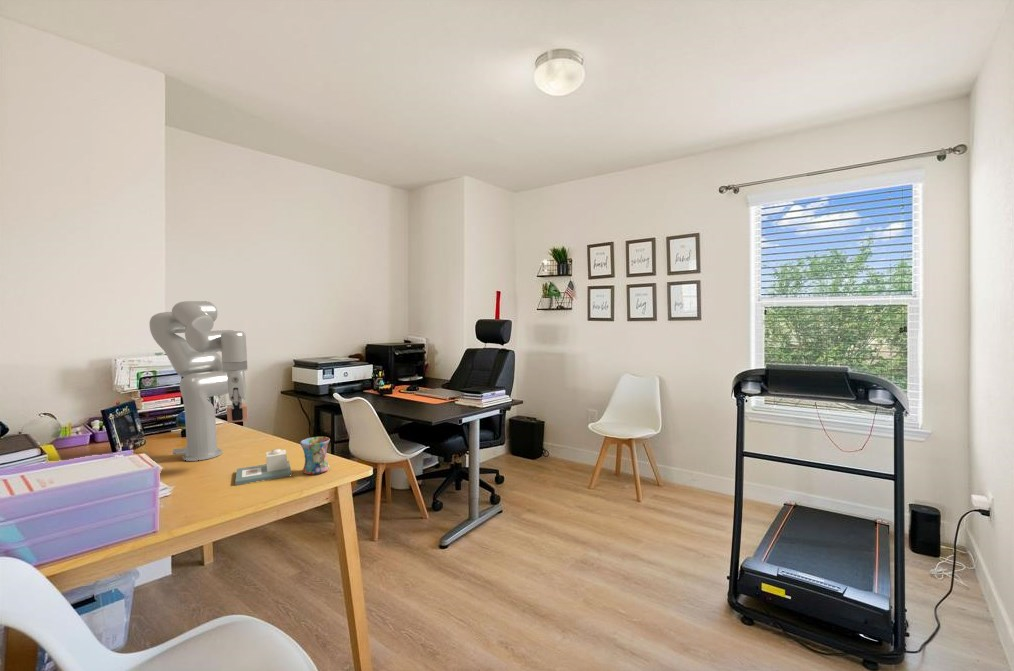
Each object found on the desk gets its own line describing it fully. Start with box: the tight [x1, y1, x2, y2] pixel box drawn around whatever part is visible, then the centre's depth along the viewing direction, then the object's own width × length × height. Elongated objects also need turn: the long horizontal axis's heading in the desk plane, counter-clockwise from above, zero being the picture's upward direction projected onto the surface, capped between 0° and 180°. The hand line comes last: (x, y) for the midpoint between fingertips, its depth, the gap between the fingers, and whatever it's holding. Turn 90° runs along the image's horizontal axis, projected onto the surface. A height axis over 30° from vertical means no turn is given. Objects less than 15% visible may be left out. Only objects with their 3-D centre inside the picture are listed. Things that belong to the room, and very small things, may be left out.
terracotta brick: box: [226, 403, 249, 424], centre depth 165 cm, size 6×6×5 cm
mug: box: [299, 436, 331, 475], centre depth 158 cm, size 12×9×11 cm
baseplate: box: [235, 448, 293, 486], centre depth 158 cm, size 16×14×7 cm
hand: (237, 417), depth 165 cm, fingers closed on terracotta brick, 6 cm apart
